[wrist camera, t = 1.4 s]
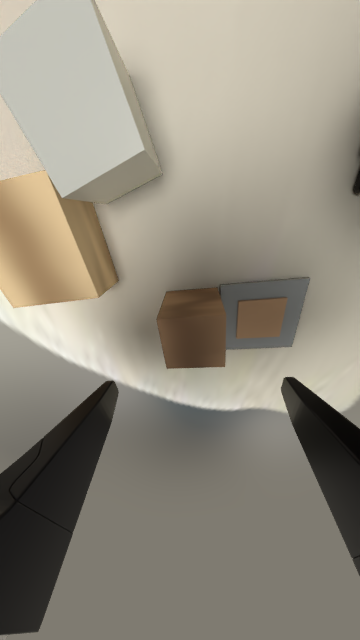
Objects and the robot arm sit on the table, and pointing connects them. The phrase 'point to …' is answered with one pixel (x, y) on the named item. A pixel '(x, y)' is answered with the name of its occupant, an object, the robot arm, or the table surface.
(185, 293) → the walnut block
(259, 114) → the table surface
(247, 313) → the card
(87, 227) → the oak base
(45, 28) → the grey block
